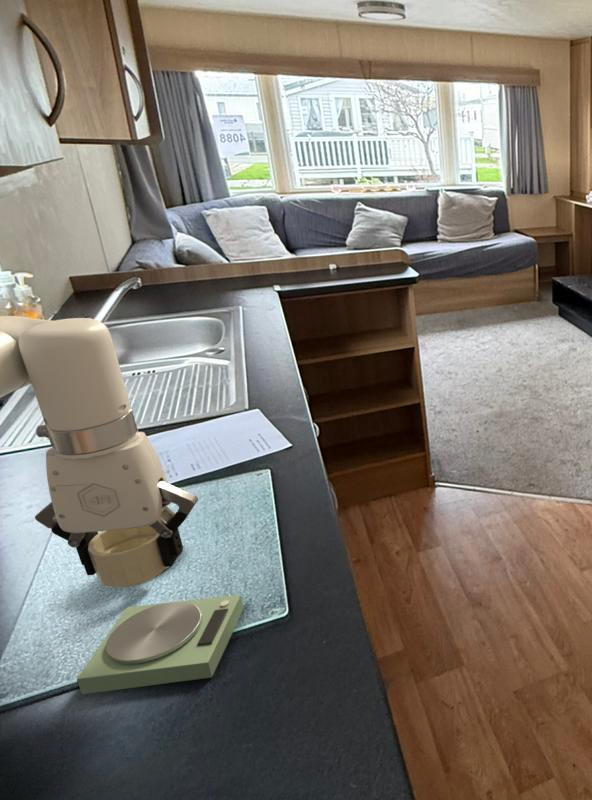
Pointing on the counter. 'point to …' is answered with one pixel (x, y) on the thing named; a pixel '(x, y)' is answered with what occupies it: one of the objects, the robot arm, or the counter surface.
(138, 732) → the counter surface
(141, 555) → the bowl
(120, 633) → the platform
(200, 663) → the scale
